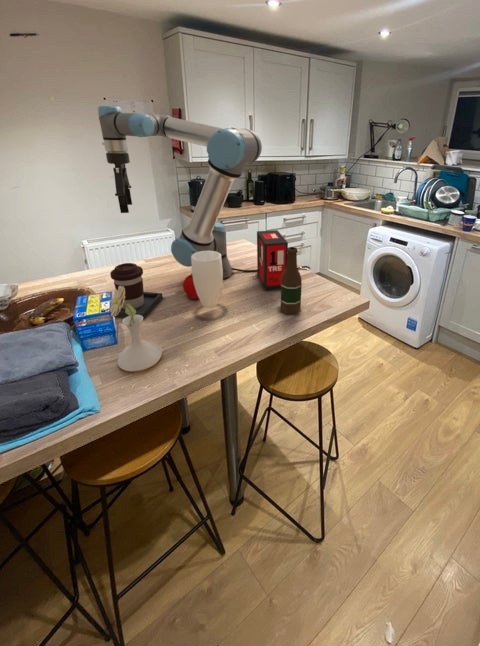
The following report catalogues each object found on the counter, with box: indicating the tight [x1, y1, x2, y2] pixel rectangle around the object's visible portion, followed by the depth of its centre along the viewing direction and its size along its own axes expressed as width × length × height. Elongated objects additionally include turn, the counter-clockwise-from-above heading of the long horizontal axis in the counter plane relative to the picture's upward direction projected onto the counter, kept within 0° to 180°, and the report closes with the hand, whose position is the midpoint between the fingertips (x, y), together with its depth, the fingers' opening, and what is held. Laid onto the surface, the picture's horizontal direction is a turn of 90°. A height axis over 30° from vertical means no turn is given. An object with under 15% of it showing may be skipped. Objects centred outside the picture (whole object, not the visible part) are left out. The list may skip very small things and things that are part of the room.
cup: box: [191, 251, 224, 309], centre depth 114 cm, size 10×10×22 cm
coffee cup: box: [109, 262, 145, 309], centre depth 116 cm, size 10×10×15 cm
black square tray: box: [114, 291, 164, 321], centre depth 119 cm, size 15×15×2 cm
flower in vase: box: [109, 286, 163, 372], centre depth 88 cm, size 13×11×25 cm
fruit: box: [182, 272, 199, 300], centre depth 127 cm, size 9×9×10 cm
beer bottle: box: [280, 246, 303, 316], centre depth 118 cm, size 8×8×24 cm
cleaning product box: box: [256, 229, 289, 291], centre depth 140 cm, size 16×9×20 cm, turn 18°
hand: (126, 208), depth 133 cm, fingers open, 13 cm apart
